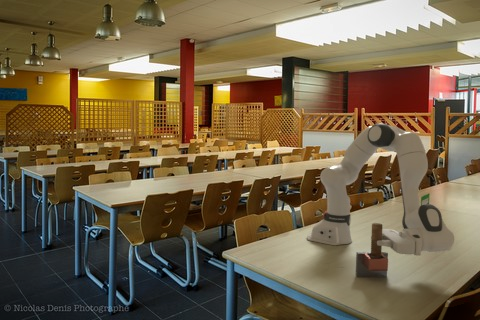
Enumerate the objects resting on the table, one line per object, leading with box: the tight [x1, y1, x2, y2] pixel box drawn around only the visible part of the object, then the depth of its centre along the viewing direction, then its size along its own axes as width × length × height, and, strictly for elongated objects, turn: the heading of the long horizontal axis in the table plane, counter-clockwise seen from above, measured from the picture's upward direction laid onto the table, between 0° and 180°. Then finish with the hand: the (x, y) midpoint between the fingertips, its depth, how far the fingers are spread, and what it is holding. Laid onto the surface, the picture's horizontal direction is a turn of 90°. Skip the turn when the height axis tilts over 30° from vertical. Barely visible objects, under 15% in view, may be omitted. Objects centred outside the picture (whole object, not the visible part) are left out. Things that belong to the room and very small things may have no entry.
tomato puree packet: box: [420, 193, 430, 206], centre depth 221 cm, size 15×1×20 cm, turn 139°
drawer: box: [355, 251, 389, 278], centre depth 151 cm, size 12×8×10 cm, turn 92°
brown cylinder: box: [370, 222, 383, 258], centre depth 150 cm, size 4×4×14 cm
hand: (374, 240), depth 150 cm, fingers closed on brown cylinder, 4 cm apart
